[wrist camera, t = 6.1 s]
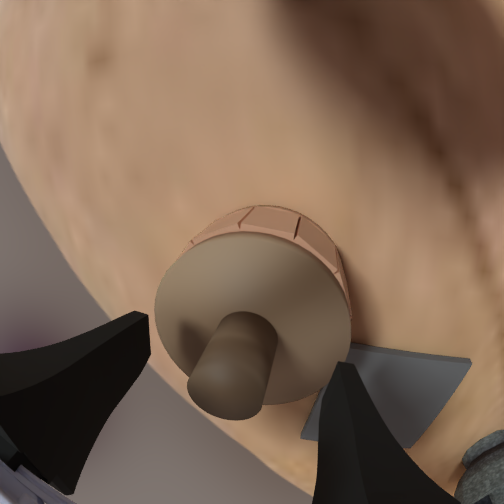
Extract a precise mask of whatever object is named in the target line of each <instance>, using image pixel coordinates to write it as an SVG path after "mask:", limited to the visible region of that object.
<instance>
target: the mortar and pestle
mask: <svg viewBox="0 0 504 504" xmlns="http://www.w3.org/2000/svg"><path fill="white" fill-rule="evenodd" d="M462 461H463V464H464V466H465V468H466V469H467V470H466V471H465V473H464V474H463V476H462V477H461V479H460V480H459V482H458V485H457V488H456V491H455V494H454V498H455V499H457V500H458V501H460V502H461V504H504V430H498V431H496V432H494V433H492V434H490V435H488V436H486V437H484V438H482V439H480V440H479V441H478V442H477V443H475V444H474V445H473V446H472V447H471V448H469V449H468V450H467V451H466V453H465V455H464V457H463V458H462Z"/></svg>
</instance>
